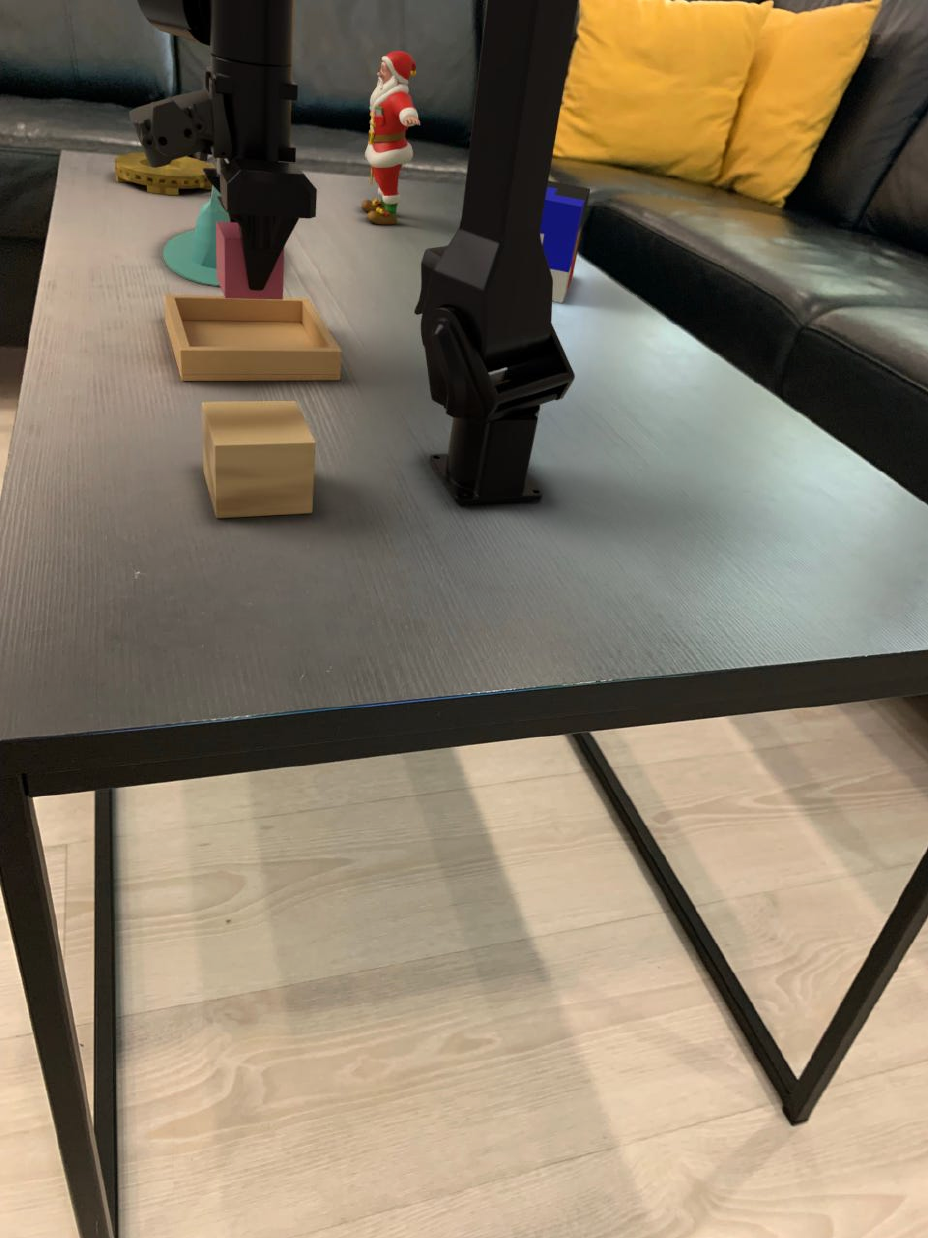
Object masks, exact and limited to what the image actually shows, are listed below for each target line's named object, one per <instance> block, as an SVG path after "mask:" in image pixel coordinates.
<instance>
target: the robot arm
mask: <svg viewBox="0 0 928 1238" xmlns="http://www.w3.org/2000/svg"><path fill="white" fill-rule="evenodd" d="M136 1H137V5H138V6H139V9H140V11H141V13H142V14H143V17H144V18H145V19H146V20H147V21H148V22H149V23H150V25H151V26H152V27H154V28H155V29H157V30H158V31H161V32H163V33H166V34H169V35H172V36H176V37H179V38H182V39H185V40H189V41H192V42H195V43H199V44H201V45H205V46H208V47H210V65H206V70H205V69H204V70H202V89H198V90H195V91H190V92H186V93H181V94H177V95H174V96H168V97H167V98H165V99H161V100H157V101H152V102H150V103H147V104H145V105H141V106H137V107H135V108H133V109H131V110H130V111H129V112H128V113H129V114H128V115H129V117H130V120H131V122H132V125H133V128H134V131H135V134H136V136H137V138H138V140H139V143H140V145H141V148H142V150H143V153H145V156H146V158H147V161H148V163H149V166H150V167H152V168H158V167H162V166H166V165H169V164H170V163H171V161H172V160H175V159H178V158H181V157H184V156H185V157H189V156H191V155H193V154H195V155H196V157H197V158H198V160H200V161H204V162H208V158H209V155H210V156H212V161H213V163H212V164H213V165H212V166H213V168H203V172H204V174H205V176H206V178H207V179H208V181H209V182H210V183H211V184H212V185H213V186H214V187H215V188H216V189H217V191H218V192H219V193H220V194H221V196H217V198H218V200H219V202H220V204H221V206H222V208H223V209H224V210H225V211H226V212H227V214H228V218H229V222H235V223H238V228H239V234H240V240H241V246H242V252H243V258H244V264H245V270H246V275H247V281H248V286H249V289H250V290H254V291H262V290H263V289H264V287H265V285H266V283H267V281H268V279H269V277H270V275H271V273H272V271H273V269H274V267H275V265H276V262H277V260H278V258H279V256H280V254H281V252H282V250H283V248H284V249H285V246H286V244H287V243H288V241H289V238H290V236H291V235H292V233H293V231H294V229H295V227H296V225H297V223H298V222H299V220H300V219H308V220H309V219H313V218H316V217H317V199H318V197H317V196H318V189H317V188H316V186H315V185H314V184H313V182H312V181H311V180H310V179H309V178H308V177H307V175H306V174H305V173H304V172H303V171H302V169H301V168H300V167H299V165H297V163H296V160H297V159H296V157H297V148H296V146H295V145H294V144H293V143H292V142H291V129H292V101H296V102H297V101H298V95H299V94H298V93H299V92H298V91H299V89H298V88H299V84H297V83H296V82H295V81H294V80H293V47H294V46H293V45H294V13H295V9H294V8H295V0H136ZM578 4H579V0H486V7H485V15H484V25H483V33H482V41H481V49H480V50H481V51H480V57H479V64H478V65H479V66H478V76H477V83H476V93H475V99H474V108H473V109H474V110H473V116H472V117H473V118H472V125H471V134H470V142H469V143H470V144H469V150H468V151H469V152H468V159H467V168H466V177H465V185H464V193H463V194H464V195H463V201H462V208H461V217H460V221H459V225H458V228H457V230H456V232H455V233H454V235H453V236H452V238H451V239H450V241H449V243H448V244H447V245H443V246H437V247H430V248H426V249H424V253H423V256H422V258H421V261H420V280H421V282H420V293H419V297H418V301H417V304H416V306H415V308H414V314H415V315H416V316H419V315H421V319H420V336H421V342H422V346H423V347H424V352H425V358H426V359H425V360H426V367H427V374H428V382H429V389H430V397H431V400H432V401H433V402H434V403H436V404H438V405H440V406H442V407H443V409H445V415H448V416H449V417H451V418H452V421H451V429H450V437H449V443H448V449H447V450H448V451H447V453H433V454H431V455H430V456H429V460H428V461H429V464H430V466H431V468H432V469H433V471H434V472H435V473H436V475H437V477H438V478H439V480H440V481H441V483H442V485H443V486H444V487H445V489H446V490H447V492H448V494H449V495H450V497H451V498H452V499H453V501H454V502H455V503H456V504H458V505H462V506H463V505H464V506H465V505H480V504H481V505H482V504H484V505H485V504H498V503H502V504H503V503H514V502H516V503H517V502H519V503H520V502H535V501H537V502H538V501H541V500H542V499H543V496H544V491H543V490H542V488H540V487H539V485H538V484H537V482H536V481H535V480H534V479H533V477H532V476H531V475H530V474H529V466H530V462H531V456H532V451H533V446H534V442H535V437H536V432H537V427H538V421H539V415H540V411H541V405H544V404H546V403H550V402H552V401H560V400H563V398H564V397H565V395H566V394H567V392H568V391H569V389H570V387H571V386H572V384H573V383H574V381H575V378H576V376H575V372H574V370H573V367H572V365H571V363H570V361H569V358H568V356H567V353H566V352H565V349H564V347H563V345H562V343H561V341H560V339H559V336H558V334H557V332H556V329H555V327H554V324H553V323H552V319H553V318H552V316H553V315H552V314H553V301H552V295H553V278H552V274H551V271H550V268H549V264H548V261H547V258H546V255H545V252H544V248H543V245H542V242H541V238H540V231H541V222H542V216H543V210H544V204H545V198H546V192H547V186H548V181H550V180H549V179H550V173H551V167H552V161H553V155H554V149H555V143H556V139H557V138H556V137H557V131H558V125H559V119H560V112H561V107H562V102H563V95H564V89H565V85H566V84H565V83H566V76H567V71H568V65H569V59H570V53H571V47H572V41H573V34H574V28H575V22H576V16H577V11H578V6H579V5H578ZM503 369H505V370H503ZM499 370H501V371H499ZM496 371H498V372H496ZM493 372H495V373H493ZM490 373H491V374H490Z"/></svg>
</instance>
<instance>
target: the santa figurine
mask: <svg viewBox="0 0 928 1238" xmlns="http://www.w3.org/2000/svg"><path fill="white" fill-rule="evenodd" d="M416 69H417V65H416V62H415V60H414V58H413V57H412V55H411V54H409V53H407V52H405V51H401V50H396V51H391V52H389V53H387V54H386V55H384V56H382V57H381V64H380V69H378V72H377V73H376V75H377V77H378V79H377V80H378V81H377V83H376V87H375V89H374V90H373V92H372V94H371V95H370V98H369V105H370V106H369V111H370V113H369V116H370V117H371V118H370V120H369V124H370V126H369V127H370V129H369V130H368V138H367V147H366V149H365V152H364V157H365V159H366V160H367V162H368V163H369V165H370V166H371V169H370V181H369V182H370V185H371V186H372V185H373V181H374V180H375V183H376V184H377V185H378V188H377V194H378V195H379V196H380V200H379V199H378V198H374V200H373V201H372V200H371V199H365V200H363V201H362V202H361V209H362V210H364V211H365V212H367V214H366V219H367V220H368V221H370V222H371V223H373V224H374V225H375V224H376V225H379V226H380V225H382V226H383V225H384V226H385V225H386V226H387V225H388V226H389V225H397V224H398V215H397V207H398V204H399V203H400V202H401V199H402V198H401V194H400V193H399V192H398V191H399V189H398V188H399V179H400V177H399V176H400V171H401V170H402V167H403V165H405V164H408V163H409V162H411V161H412V159H413V157H414V150H413V147H412V145H411V143H410V142H408V141H407V138H406V132H407V130H408V129H409V127H413V126H415V125H417V126H421V121H420V120H419V114H418V110H417V108H416V107H415V106H414V103H413V99H412V97H411V94H410V93H409V91H410V90H409V86H408V85H409V80H410V79H411V76H412V77H416V75H417V71H416Z"/></svg>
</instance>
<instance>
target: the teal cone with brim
mask: <svg viewBox="0 0 928 1238" xmlns="http://www.w3.org/2000/svg"><path fill="white" fill-rule="evenodd" d="M217 196H221V194H220V193H219V192H218V191H217V189H216V188H215V187H214V186H213V188H212V190H211V194H210V200H209V201H208V202H207V203H205V204H204V205H203V206H201V208H200V212H199V214H198V216H197V219H196V224H195V229H191V230H187V231H185V232H183V233H180V234H178V235H176V236H175V237H173V238H171V239H170V240H168V241H167V243H166V244H165V245H164V247H163V252H162V258H163V260H164V262H165V265H166V266H167V267H168V268H169V269H170V270H171V271H172V272H173V273H174V274H175V275H177V276H179V277H181V278H183V279H185V280H188V281H190V282H194V283H196V284H199V285H200V284H201V285H205V286H212V287H220V285H219V283H218V280H217V253H216V222H229V218H228V214H227V212H226V211H225V210H224V209H223V208H222V206H221V204H220V202H219V200H218V198H217Z"/></svg>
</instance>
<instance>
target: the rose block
mask: <svg viewBox="0 0 928 1238" xmlns="http://www.w3.org/2000/svg"><path fill="white" fill-rule="evenodd" d="M216 253H217V280H218V283H219V285H220V286H219V288H220V289H221V292H222V294H223V296H224V297H225V298H235V299H274V300H283V297H284V275H285V273H284V271H285V269H284V268H285V247H284V248H283V250H282V252H281V254H280V256H279V258H278V260H277V262H276V265H275V267H274V269H273V271H272V273H271V275H270V277H269V279H268V281H267V283H266V285H265V287H264V289H263V290H262V291H254V290H250V289H249V286H248V281H247V275H246V270H245V264H244V258H243V252H242V246H241V240H240V234H239V228H238V223H235V222H216Z"/></svg>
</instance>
